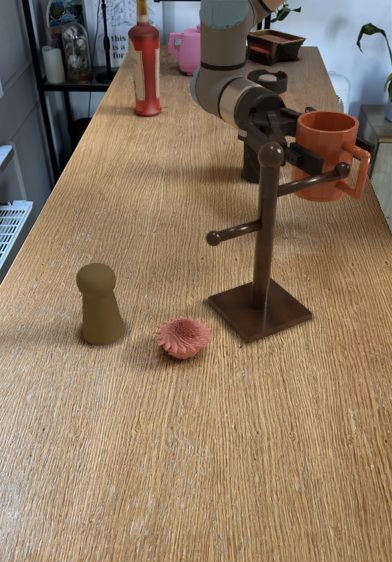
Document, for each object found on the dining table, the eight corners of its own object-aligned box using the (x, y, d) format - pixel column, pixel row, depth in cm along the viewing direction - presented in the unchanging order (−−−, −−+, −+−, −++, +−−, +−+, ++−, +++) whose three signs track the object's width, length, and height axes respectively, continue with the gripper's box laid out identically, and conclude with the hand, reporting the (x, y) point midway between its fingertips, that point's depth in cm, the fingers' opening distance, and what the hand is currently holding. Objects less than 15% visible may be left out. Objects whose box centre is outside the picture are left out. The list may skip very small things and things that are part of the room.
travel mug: (252, 189, 117) (259, 84, 104) (235, 173, 122) (239, 71, 109) (286, 181, 119) (296, 78, 106) (267, 167, 125) (275, 66, 111)
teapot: (166, 78, 170) (164, 30, 161) (171, 65, 179) (169, 19, 171) (235, 79, 169) (237, 30, 160) (236, 66, 178) (238, 19, 169)
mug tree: (306, 269, 95) (328, 109, 78) (351, 305, 88) (387, 136, 71) (187, 311, 87) (183, 142, 70) (226, 354, 80) (233, 177, 63)
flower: (217, 339, 82) (218, 307, 79) (205, 378, 77) (205, 346, 73) (163, 331, 84) (161, 300, 80) (147, 369, 78) (144, 337, 74)
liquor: (130, 111, 150) (120, -16, 132) (157, 107, 152) (151, -19, 134) (139, 121, 145) (129, -10, 126) (167, 117, 147) (161, -13, 128)
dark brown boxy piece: (275, 57, 192) (272, 23, 186) (312, 61, 179) (310, 24, 173) (239, 68, 187) (236, 33, 181) (275, 73, 174) (272, 35, 168)
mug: (279, 184, 88) (285, 117, 81) (322, 172, 91) (332, 106, 84) (334, 221, 80) (346, 149, 73) (380, 207, 83) (396, 136, 76)
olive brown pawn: (123, 318, 86) (116, 254, 79) (127, 345, 82) (119, 279, 74) (82, 323, 85) (70, 258, 78) (83, 350, 81) (71, 284, 74)
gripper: (303, 121, 101) (397, 171, 86) (196, 146, 93) (280, 205, 78) (308, 75, 96) (410, 119, 81) (196, 97, 88) (285, 151, 73)
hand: (346, 161), depth 80 cm, fingers closed on mug, 8 cm apart
